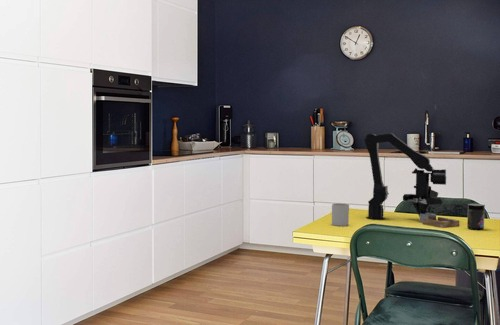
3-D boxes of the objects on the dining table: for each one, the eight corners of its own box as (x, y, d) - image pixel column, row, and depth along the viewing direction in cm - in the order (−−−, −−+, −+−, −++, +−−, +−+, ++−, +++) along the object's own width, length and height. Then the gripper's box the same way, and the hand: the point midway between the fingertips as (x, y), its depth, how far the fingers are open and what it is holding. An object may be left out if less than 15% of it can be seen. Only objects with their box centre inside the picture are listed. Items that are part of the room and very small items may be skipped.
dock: (442, 227, 268) (442, 220, 268) (422, 224, 278) (423, 217, 278) (459, 226, 273) (459, 219, 273) (439, 222, 283) (439, 215, 283)
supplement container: (476, 231, 261) (477, 206, 261) (463, 228, 267) (464, 204, 266) (487, 229, 265) (488, 205, 264) (474, 227, 270) (475, 203, 270)
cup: (333, 226, 268) (334, 205, 267) (328, 222, 278) (329, 202, 277) (350, 226, 268) (350, 205, 268) (344, 222, 278) (345, 202, 278)
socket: (427, 223, 279) (428, 214, 278) (419, 222, 283) (419, 213, 283) (435, 223, 281) (436, 213, 281) (427, 221, 286) (427, 212, 285)
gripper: (450, 184, 281) (449, 219, 282) (419, 181, 297) (418, 214, 298) (433, 185, 275) (432, 221, 276) (402, 182, 291) (401, 215, 292)
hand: (421, 217), depth 286 cm, fingers closed
